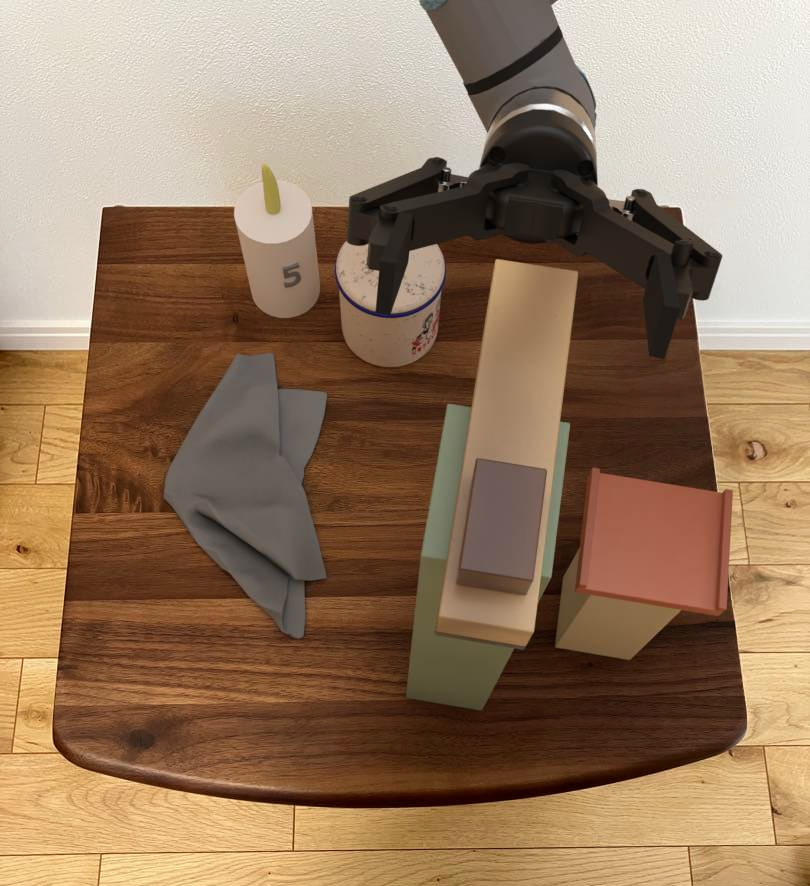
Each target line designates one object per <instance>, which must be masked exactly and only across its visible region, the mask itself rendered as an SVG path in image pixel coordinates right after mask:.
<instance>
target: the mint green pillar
mask: <svg viewBox="0 0 810 886" xmlns="http://www.w3.org/2000/svg"><path fill="white" fill-rule="evenodd" d="M470 411H471V406H466V405H459V404H455V403H454V404H453V403H447V404H446V409H445V415H444V421H443V426H442V433H441V437H440V443H439V449H438V454H437V459H436V467H435V472H434V478H433V483H432V489H431V494H430V501H429V506H428V512H427V518H426V523H425V529H424V535H423V541H422V547H421V552H420V559H419V570H418V579H417V588H416V597H415V607H414V615H413V616H414V617H413V623H412V624H413V625H412V635H411V645H410V655H409V662H408V673H407V682H406V692H405V698H406V699H411V700H416V701H422V702H429V703H434V704H440V705H445V706H446V705H447V706H452V707H457V708H463V709H468V710H475V711H479V712H480V711H483V709H484V707H485V705H486V703H487V702H488V699H489V698H490V696H491V694H492V692H493V690H494V688H495V687H496V685H497V682H498V681H499V679H500V677H501V675H502V673H503V671H504V668H505V667H506V665H507V663H508V661H509V660H510V658H511V655H512V654H513V652H514V650H515V648H509V647H503V646H497V645H491V644H485V643H479V642H473V641H467V640H461V639H455V638H449V637H443V636H437V635H435V629H436V622H437V616H438V610H439V604H440V598H441V591H442V585H443V579H444V573H445V566H446V560H447V554H448V548H449V542H450V535H451V529H452V523H453V517H454V511H455V504H456V498H457V492H458V486H459V479H460V473H461V467H462V461H463V455H464V448H465V442H466V436H467V430H468V424H469V417H470ZM570 428H571V423H570V422H565V421H560V426H559V434H558V442H557V450H556V458H555V467H554V475H553V483H552V491H551V499H550V507H549V515H548V523H547V531H546V540H545V548H544V556H543V564H542V572H541V580H540V588H539V596H538V603H539V602H540V600H541V598H542V596H543V594H544V593H545V590H546V588H547V587H548V584H549V582H550V581H551V580H552V575H553V568H554V559H555V552H556V543H557V535H558V526H559V518H560V510H561V502H562V495H563V486H564V479H565V470H566V462H567V453H568V446H569V436H570V431H571V430H570Z"/></svg>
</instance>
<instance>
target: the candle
mask: <svg viewBox="0 0 810 886" xmlns="http://www.w3.org/2000/svg"><path fill="white" fill-rule="evenodd" d="M261 177H262V178H261V179H262V181H259V182H257V183H255V184H253V185H250V186H249V187H247V188H246V189H245V190H244V191H242V193H241V194H240V196H239V197H238V198H237V200H236V203H235V204H234V209H233V217H234V221H235V226H236V230H237V234H238V239H239V244H240V248H241V253H242V257H243V262H244V266H245V270H246V276H247V279H248V283H249V289H250V293H251V298H252V300H253V302H254V303H255V305H256V307H257V308H258V309H259V310H261V312H263V313H264V314H267V315H269V316H270V317H275V318H278V319H291V318H296V317H299V316H301V315H303V314H306V313H307V312H308V311H310V309H312V308H313V307H314V305H315V304H316V303H317V301H318V300H319V297H320V294H321V280H320V269H319V261H318V251H317V244H316V243H317V241H316V234H315V223H314V215H313V206H312V202H311V199H310V198H309V196H308V195H307V193H306V192H305V191H304V190H302V189H301V188H300V187H299V186H297V185H295V184H293V183H292V182H289V181H285V180H279V179H276V177H275V175H274V172H273V171H272V169H271V168H270V166H268V164H266V163H262V164H261Z"/></svg>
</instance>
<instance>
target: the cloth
mask: <svg viewBox="0 0 810 886" xmlns="http://www.w3.org/2000/svg"><path fill="white" fill-rule="evenodd" d="M327 401H328V394H327V393H326V392H325V391H318V390H309V389H298V388H278V381H277V372H276V363H275V354H274V353H271V352H266V353H260V354H254V355H247V354H244V353H239V352H238V353H236V355H235V357H234V358H233V360H232V362H231V364H230V365H229V366H228V368H227V370H226V371H225V373H224V375H223V376H222V377H221V380H220V381H219V383H218V384H217V386H216V387H215V389H214V390H213V392H212V393H211V395H210V397H209V398H208V400H207V401H206V403H205V404H204V406H203V407H202V408H201V410H200V412H199V413H198V415H197V417H196V419H195V420H194V422H193V424H192V426H191V427H190V429H189V431H188V433H187V435H186V436H185V438H184V439H183V442H182V443H181V446H180V447H179V449H178V451H177V452H176V455H175V456H174V459H173V460H172V462H171V463H170V465H169V466H168V470H167V472H166V475H165V479H164V488H163V489H164V490H163V499H164V500H165V501H166V502H167V503H168V504H169V506H171V507H172V509H173V511H174V512H175V513H176V515H177V516H178V518H179V519H180V521H181V522H182V524H183V525H184V527H185V528H186V529H187V531H188V533H189V534H190V535H191V537H192V539H193V540H194V541H195V543H197V545H198V546H199V547H200V548H201V550H203V551H204V552H205V553H206V554H207V555H208V556H209V557H210V558H211V559H212V560H213V561H214V562H215V564H217V565H218V566H219V567H220V569H222V570H224V571H226V572H227V573H229V574H230V575H231V576H232V579H234V580H235V581H236V583H237V584H238V585H239V586H240V588H241V589H242V590H243V591H244V593H246V595H247V596H248V597H249V598H250V599H251V600H252V601H253V602H254V603H255V604H256V605H257V606H258V607H259V608H260V609H262V610H263V611H264V612H265V613H266V614H267V615H268V616H269V617H270V618H271V619H272V620H273V621H274V623H275V624H276V625H277V627H278V628H279V630H280V631H281V633H284V634H286V635H288V636H290V637H292V638H293V639H296V640H300V639H302V638H304V635H305V627H306V619H307V618H306V593H305V592H306V590H305V582H306V581H307V582H312V581H313V582H314V581H319V580H320V581H321V580H326V579H328V577H327V572H326V568H325V563H324V560H323V556H322V550H321V548H320V547H321V546H320V542H319V539H318V535H317V531H316V528H315V525H314V521H313V518H312V514H311V510H310V506H309V502H308V498H307V494H306V491H305V489H304V487H303V485H302V484H303V480H304V477H305V468H306V466H307V464H308V463H309V461H310V460H311V457H312V456H313V453H314V451H315V449H316V446H317V443H318V440H319V438H320V434H321V430H322V426H323V422H324V418H325V415H326V408H327V407H326V406H327Z"/></svg>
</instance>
